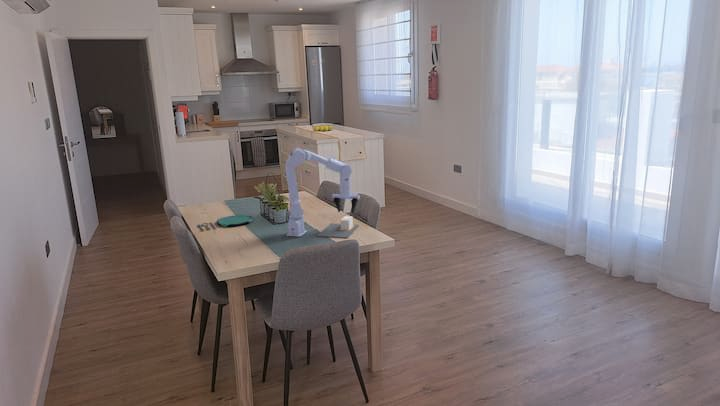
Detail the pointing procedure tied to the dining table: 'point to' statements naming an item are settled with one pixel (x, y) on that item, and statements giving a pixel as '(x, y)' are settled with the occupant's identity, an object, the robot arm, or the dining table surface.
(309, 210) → the dining table surface
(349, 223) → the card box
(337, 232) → the mat
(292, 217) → the robot arm
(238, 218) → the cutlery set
